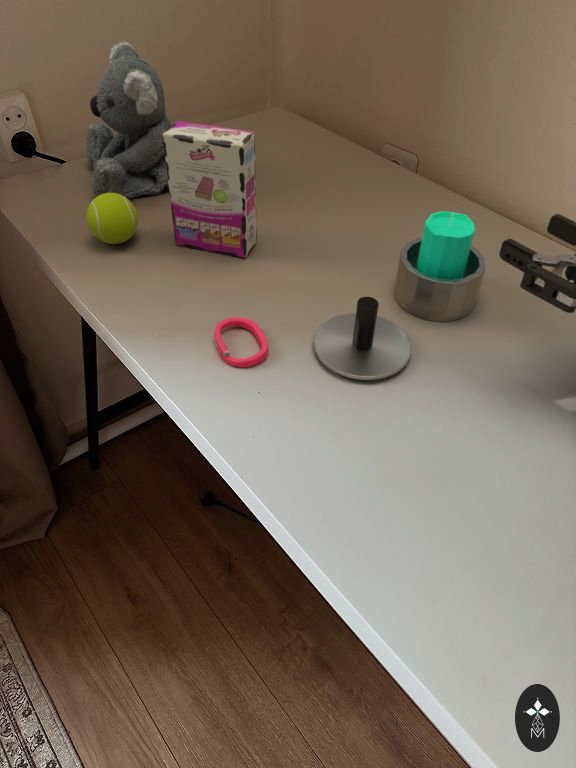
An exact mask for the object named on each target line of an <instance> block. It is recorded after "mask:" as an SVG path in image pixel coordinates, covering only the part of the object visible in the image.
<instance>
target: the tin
mask: <svg viewBox="0 0 576 768" xmlns="http://www.w3.org/2000/svg"><path fill="white" fill-rule="evenodd" d="M421 241H422V236H420V237H417V238H414V239H412V240H410V241H407V242H406V244H405V245H403V247H402V248H401V249H400V253H399V259H398V264H397V270H396V275H395V282H394V289H393V291H394V292H393V295H394V298H395V301H396V302H397V304H398V305H399V306H400V307H401V309H403V310H404V311H405V312H407V313H409V314H410V315H413V316H414V317H417V318H418V319H419V318H420V319H423V320H427V321H431V322H452V321H457V320H460V319H462V318H464V317H466V316H468V315H469V314H470V313H472V311H473V309H474V308H475V304H476V302H477V300H478V298H479V297H478V296H479V293H480V289H481V286H482V283H483V280H484V279H483V278H484V275H485V272H486V269H487V266H486V260H485V259H486V258H485V257H484V255H483V254H482V253H481V252H480V251H479V249H477V248H476V247H475V246H474V245H471V248H470V252H469V256H468V259H467V263H466V267H465V271H464V275H463V278H460V279H453V280H451V279H441V278H435V277H432V276H429V275H426V274H423V273H421V272H420V271H418V270H417V269H416V267H417V262H418V257H419V252H420V247H421Z"/></svg>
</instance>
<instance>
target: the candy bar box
mask: <svg viewBox="0 0 576 768" xmlns="http://www.w3.org/2000/svg"><path fill="white" fill-rule="evenodd" d="M255 134H256V133H255V131H252V130H251V131H250V130H244V129H236V128H232V127H231V128H230V127H224V126H223V127H222V126H216V125H210V124H201V123H195V122H187V121H181V120H177V121H176V122H175V123H173V125H172V126H171V127H170V128H169V129H168V130H167V131H166V132H165V133H163V143H164V152H165V160H166V168H167V176H168V184H169V186H168V191H169V200H170V208H171V209H170V210H171V217H172V218H171V219H172V225H173V226H172V227H173V235H174V242H175V245H177V246H180V247H186V248H190V249H196V250H201V251H205V252H212V253H216V254H217V253H218V254H222V255H229V256H234V257H238V258H247V257H248V256H249V254H250V253H251V251H252V249H253V248H254V247H255V246H256V244H257V242H258V227H257V191H256V190H257V186H256V185H257V184H256V183H257V182H256V177H257V176H256V137H255Z"/></svg>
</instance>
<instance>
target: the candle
mask: <svg viewBox="0 0 576 768" xmlns="http://www.w3.org/2000/svg"><path fill="white" fill-rule="evenodd" d="M475 232H476V228H475V222H473V220H472V219H471V218H470V217H469V216H468V215H467V214H464V213H460V212H454V211H447V210H445V211H444V210H441V211H438V212H434V213H431V214H430V215H429V216H428V218H427V219H426V220H425V222H424V226H423V232H422V236H421V237H422V241H421V247H420V252H419V257H418V262H417V267H416V269H417V270H418V271H420V272H421V273H423V274H426V275H429V276H432V277H435V278H441V279H451V280H453V279H460V278H463V275H464V271H465V267H466V263H467V259H468V256H469V252H470V248H471V246H472V244H473V240H474V236H475Z"/></svg>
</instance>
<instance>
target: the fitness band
mask: <svg viewBox="0 0 576 768" xmlns="http://www.w3.org/2000/svg"><path fill="white" fill-rule="evenodd" d="M230 327H239V328H243V329H246V330H248V331H250V332H251V333H252V334H253V335H254V337H255V339H256V341H257V343H258V344H259V346H260V350H259V351H258V352H257V353H255V354H253V355H251V356H249V357H244V358H237V357H236V358H235V357H234V356H232V355H230V351H229V349H228V347H227V345H226V344H225V342H224V340H223V338H222V335H221V333H222V331H223V330H224V329H226V328H230ZM212 338H213V339H212V340H213V344H214V345H215V347H216V349H217V352H218V353H219V355H220V357H221V358H222V360H223V361H225V362H226V363H227V364H229V365H231V366H234V367H237V368H247V367H253V366H256V365H259V364H261V363H262V362H263V361H264V360H265V359H266V358H267V356H268V355H269V342H268V338H267V337H266V335H265V333H264V332H263V330H262V328H261V327H260V326H259V324H257V323H256V322H255V321H254V320H252V319H250V318H246V317H242V316H241V317H239V316H233V317H227V318H225V319H223V320H221V321H220V322H218V323H217V324H216V325H215V328H214V331H213V337H212Z"/></svg>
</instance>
